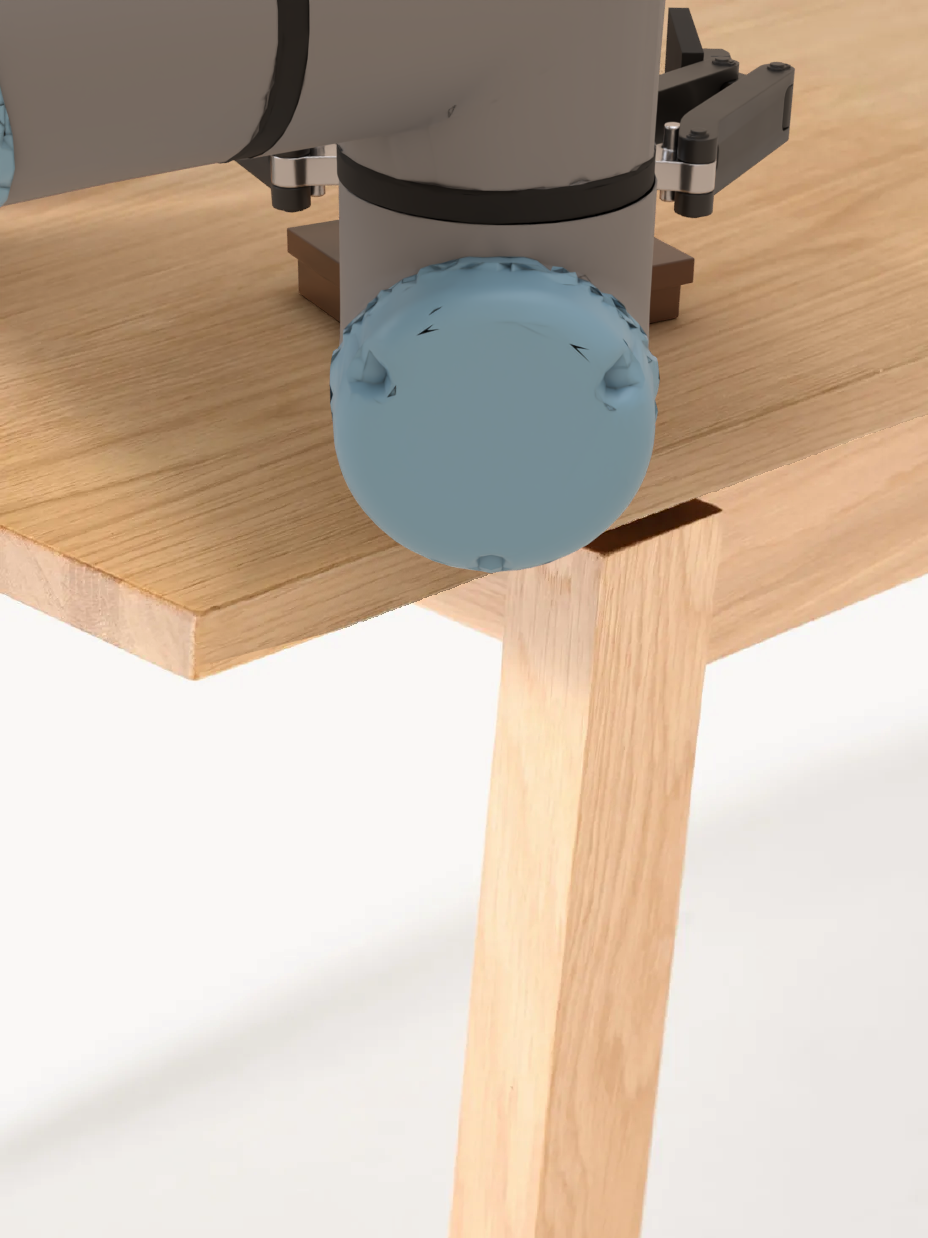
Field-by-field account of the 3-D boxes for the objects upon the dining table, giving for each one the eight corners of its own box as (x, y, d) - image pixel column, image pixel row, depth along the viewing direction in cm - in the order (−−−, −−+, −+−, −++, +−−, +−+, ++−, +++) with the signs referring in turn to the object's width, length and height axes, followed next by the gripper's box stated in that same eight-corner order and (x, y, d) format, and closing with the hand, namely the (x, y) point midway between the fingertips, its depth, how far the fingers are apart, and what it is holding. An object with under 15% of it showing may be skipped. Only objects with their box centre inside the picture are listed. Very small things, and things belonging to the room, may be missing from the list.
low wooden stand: (287, 289, 84) (286, 227, 83) (551, 242, 89) (553, 183, 88) (410, 378, 77) (410, 311, 75) (691, 321, 82) (695, 257, 81)
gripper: (65, 343, 64) (161, 134, 82) (915, 358, 64) (819, 146, 82) (45, 88, 60) (150, -70, 79) (947, 105, 60) (839, -57, 79)
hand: (492, 40), depth 81 cm, fingers open, 13 cm apart
